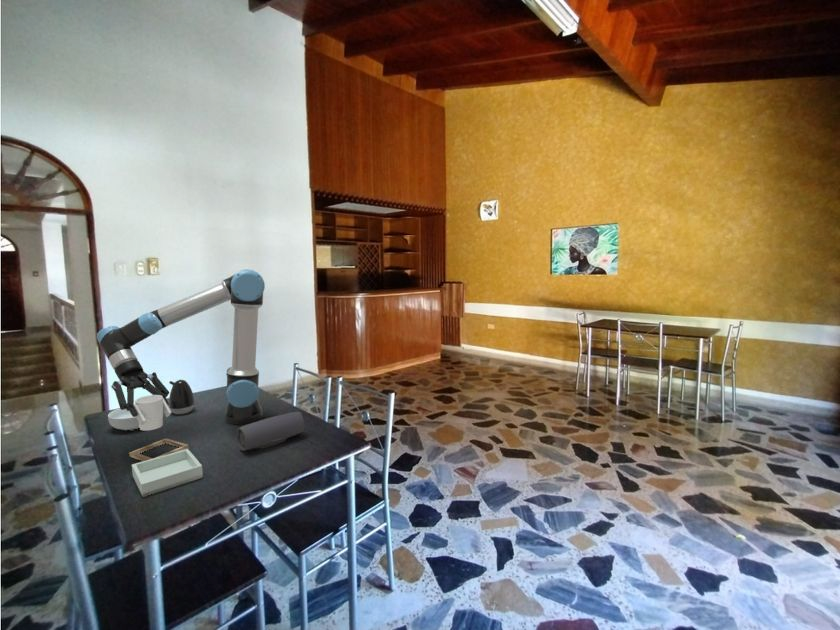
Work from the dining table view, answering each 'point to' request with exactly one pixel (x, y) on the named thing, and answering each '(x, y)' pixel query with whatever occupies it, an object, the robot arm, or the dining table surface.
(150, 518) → the dining table surface
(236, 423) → the robot arm
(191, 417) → the dining table surface
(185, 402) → the pump dispenser
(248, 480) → the dining table surface
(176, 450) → the tan flat square frame
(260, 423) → the bluetooth speaker
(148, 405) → the white cup
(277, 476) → the dining table surface
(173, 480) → the bin
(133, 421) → the cereal bowl
